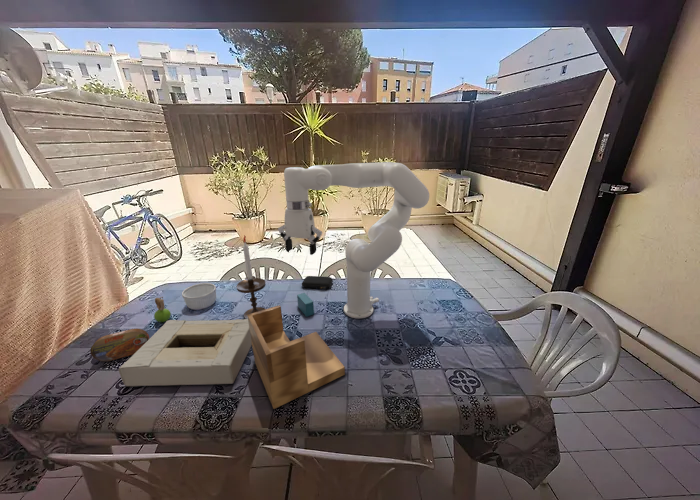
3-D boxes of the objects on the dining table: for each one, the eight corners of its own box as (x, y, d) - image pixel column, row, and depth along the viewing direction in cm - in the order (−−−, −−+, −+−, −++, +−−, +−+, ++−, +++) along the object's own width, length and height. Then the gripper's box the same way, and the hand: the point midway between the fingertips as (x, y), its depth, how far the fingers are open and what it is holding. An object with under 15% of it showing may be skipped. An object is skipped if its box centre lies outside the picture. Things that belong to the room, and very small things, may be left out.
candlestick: (273, 316, 111) (263, 235, 99) (246, 326, 105) (232, 240, 93) (263, 305, 119) (253, 228, 107) (238, 313, 113) (224, 233, 101)
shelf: (316, 338, 98) (314, 294, 92) (344, 374, 82) (344, 325, 76) (254, 362, 87) (247, 314, 81) (273, 409, 71) (266, 354, 65)
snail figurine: (161, 327, 105) (153, 300, 100) (153, 322, 108) (145, 295, 104) (176, 320, 109) (169, 294, 105) (167, 315, 112) (160, 290, 108)
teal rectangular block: (305, 304, 120) (304, 292, 118) (314, 314, 113) (313, 301, 111) (298, 306, 118) (297, 294, 116) (306, 316, 111) (305, 304, 109)
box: (258, 333, 101) (170, 335, 100) (255, 316, 98) (165, 318, 97) (236, 385, 79) (123, 388, 78) (232, 365, 77) (115, 367, 75)
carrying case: (300, 289, 132) (329, 291, 131) (299, 284, 131) (329, 285, 130) (305, 279, 142) (333, 281, 141) (305, 274, 141) (333, 276, 140)
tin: (94, 365, 86) (85, 343, 83) (98, 358, 89) (89, 337, 86) (151, 349, 93) (144, 329, 90) (152, 344, 96) (146, 324, 93)
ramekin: (223, 302, 121) (220, 289, 119) (192, 315, 112) (188, 300, 110) (210, 293, 130) (208, 280, 127) (180, 304, 120) (177, 290, 118)
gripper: (325, 204, 93) (327, 251, 99) (282, 201, 99) (286, 246, 104) (315, 209, 86) (317, 258, 92) (269, 205, 92) (274, 252, 98)
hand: (301, 251), depth 98 cm, fingers open, 9 cm apart
